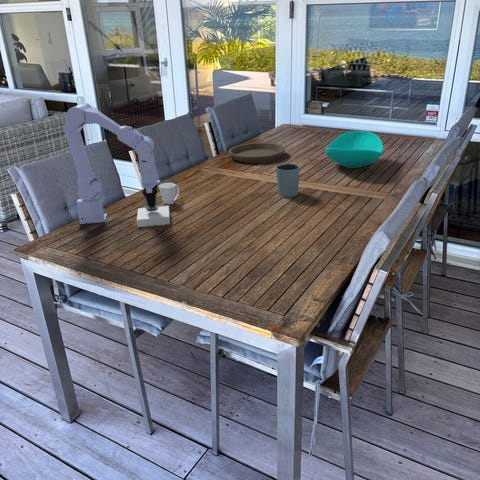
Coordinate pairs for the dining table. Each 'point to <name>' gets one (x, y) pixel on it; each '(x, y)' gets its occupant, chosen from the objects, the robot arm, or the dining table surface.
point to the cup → (168, 192)
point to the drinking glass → (288, 179)
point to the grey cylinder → (152, 207)
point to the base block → (153, 217)
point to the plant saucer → (257, 152)
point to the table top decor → (355, 149)
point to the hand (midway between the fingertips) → (152, 204)
